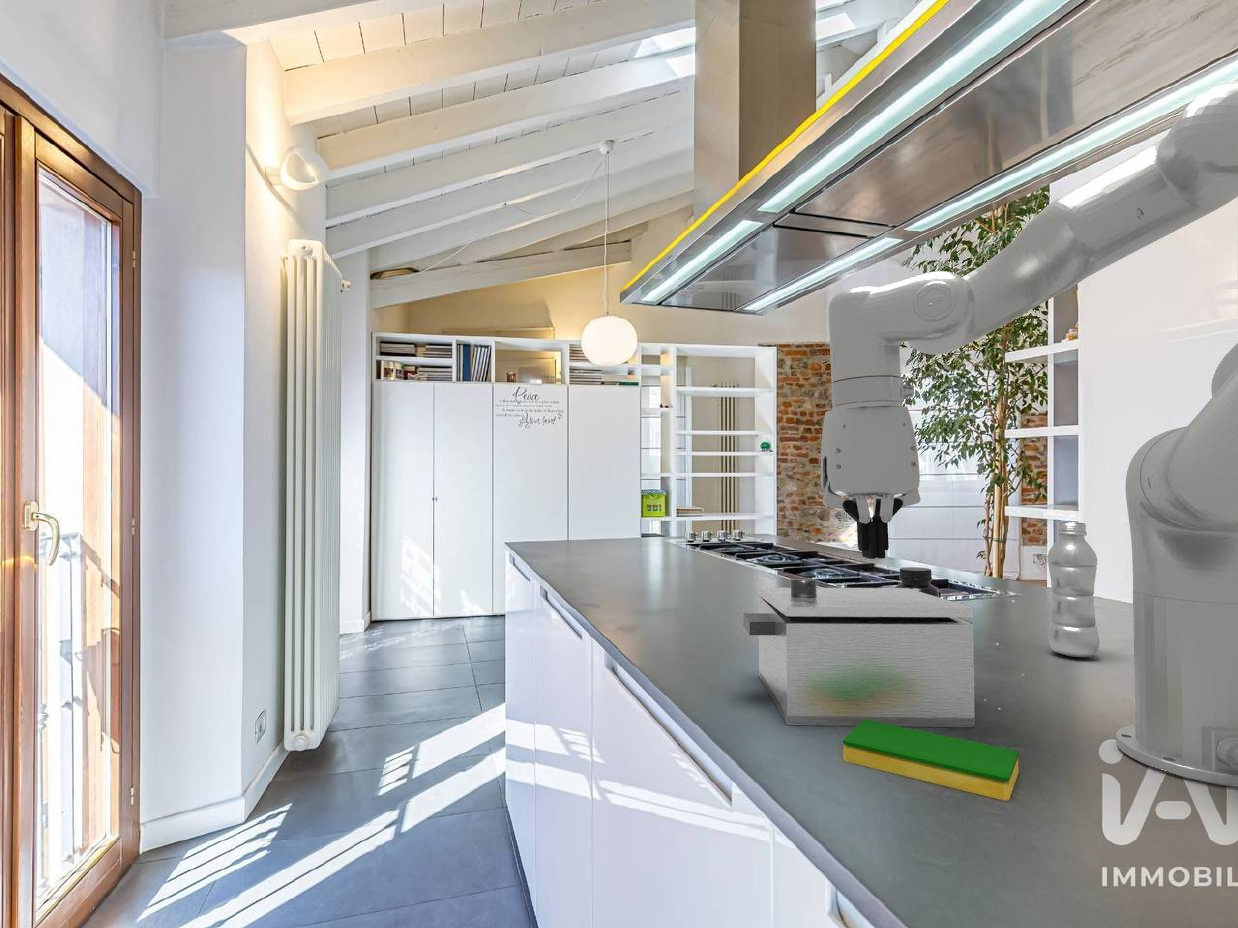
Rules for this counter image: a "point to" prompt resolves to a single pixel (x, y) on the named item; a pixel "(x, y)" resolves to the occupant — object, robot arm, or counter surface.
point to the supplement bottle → (917, 580)
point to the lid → (859, 602)
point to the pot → (866, 668)
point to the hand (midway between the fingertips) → (873, 557)
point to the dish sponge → (933, 758)
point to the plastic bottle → (1072, 593)
